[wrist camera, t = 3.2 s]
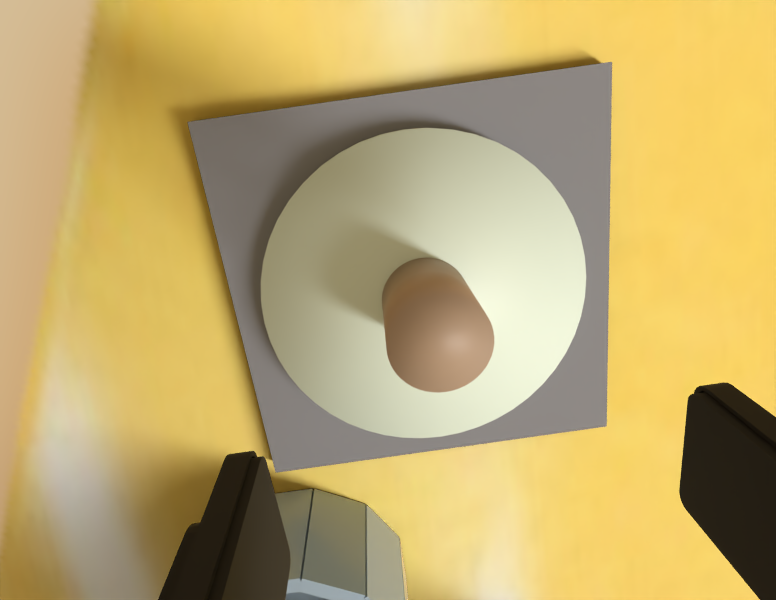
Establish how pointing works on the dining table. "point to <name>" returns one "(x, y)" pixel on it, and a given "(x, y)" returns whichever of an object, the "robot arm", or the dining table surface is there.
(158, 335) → the dining table surface
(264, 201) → the mat
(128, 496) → the dining table surface
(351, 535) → the bowl
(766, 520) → the robot arm
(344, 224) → the lid
